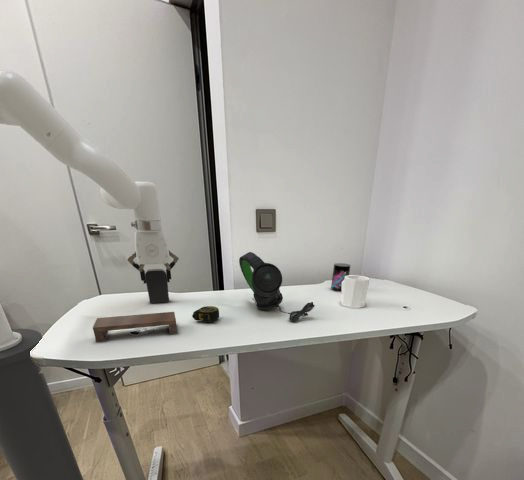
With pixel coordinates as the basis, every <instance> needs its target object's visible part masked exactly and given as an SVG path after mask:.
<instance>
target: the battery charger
mask: <svg viewBox="0 0 524 480" xmlns="http://www.w3.org/2000/svg"><path fill="white" fill-rule="evenodd" d="M145 279H146V284H145V286H146V290H147V295H148V301H149V302H148V303H149V304H162V303H169V302H170V294H169V282H168V281H167V274H166V270H164V269H162V268H152V269H151V268H150V269H147V270H145Z"/></svg>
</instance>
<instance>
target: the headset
mask: <svg viewBox="0 0 524 480" xmlns="http://www.w3.org/2000/svg"><path fill="white" fill-rule="evenodd" d="M238 265H239V268H240V271H241V273H242V276H243V277H244V279H245V282H246V283H247V285H248V286H249V288H250V290H251V291H252V292H253V295H252V296H253V299H254V302H255V306H256V308H257V309H258V310H260V311H269V310H272V309H274V308H275V309H277V308H278V309H279V312H280V313H283V314H287V315H289V317H288V321H290V322H297V321H298V320H299V319H300V318H303V317H308V316H309V314H308V313H309V312H311V311H312V310H313V309H314V308H315V304H314V302H313V301H311V302H307V303H306V304H305V305H304V306H303V307H302V309H300V310H294V311H291V312H287V311H283V310H281V307H280V304H281V303H282V302H283V300H284V296H283V294H282V292H281V290H280V288H281V286H282V284H283V274H282V272H281V270H280V269H279V267H277V266H276V265H274V264H273V263H270V262H264V260H263V259H262V258H261V257H260V256H258V255H257V254H256V253H255V252H252V251H249V252H248V251H247V253H245V254H243V255H242V256H240V257H239V258H238Z"/></svg>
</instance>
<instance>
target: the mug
mask: <svg viewBox="0 0 524 480" xmlns="http://www.w3.org/2000/svg"><path fill="white" fill-rule="evenodd" d="M369 284H370V278H369V277H368V276H364V275H361V274H349V275H348V276H345V278H344V280H343V281H342V291H341V297H340V304H341V306H343V307H346V308H351V309H360V308H364V307H365V306H366V300H367V295H368V291H369Z"/></svg>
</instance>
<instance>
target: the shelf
mask: <svg viewBox="0 0 524 480" xmlns="http://www.w3.org/2000/svg"><path fill="white" fill-rule="evenodd" d="M177 325H178V324H177V318H176V313H175V311H165V312H153V313H141V314H140V313H139V314H129V315H117V316H105V317H96V320H95V321H94V323H93V326H92V332H93V335H94V340H95V342H96V343H104V342H106V339H107V336H108V333H109V331H119V330H120V331H121V330H130V329H140V328H152V327H161V326H168V331H169V335H177V334H178V326H177Z"/></svg>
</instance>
